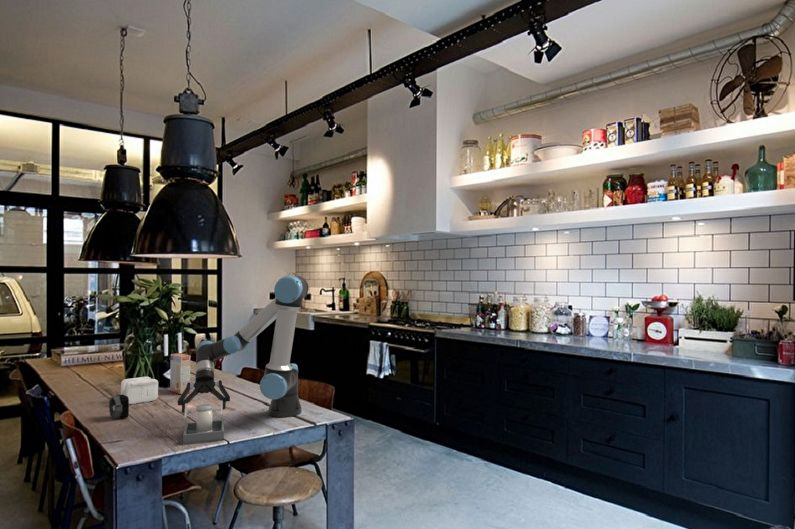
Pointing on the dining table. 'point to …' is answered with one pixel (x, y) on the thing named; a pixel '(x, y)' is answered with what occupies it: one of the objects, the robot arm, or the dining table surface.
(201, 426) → the grey lidded jar
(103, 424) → the dining table surface
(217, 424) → the parts tray
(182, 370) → the cracker box
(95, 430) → the dining table surface
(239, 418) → the dining table surface
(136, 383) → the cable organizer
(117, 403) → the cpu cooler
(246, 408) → the dining table surface
